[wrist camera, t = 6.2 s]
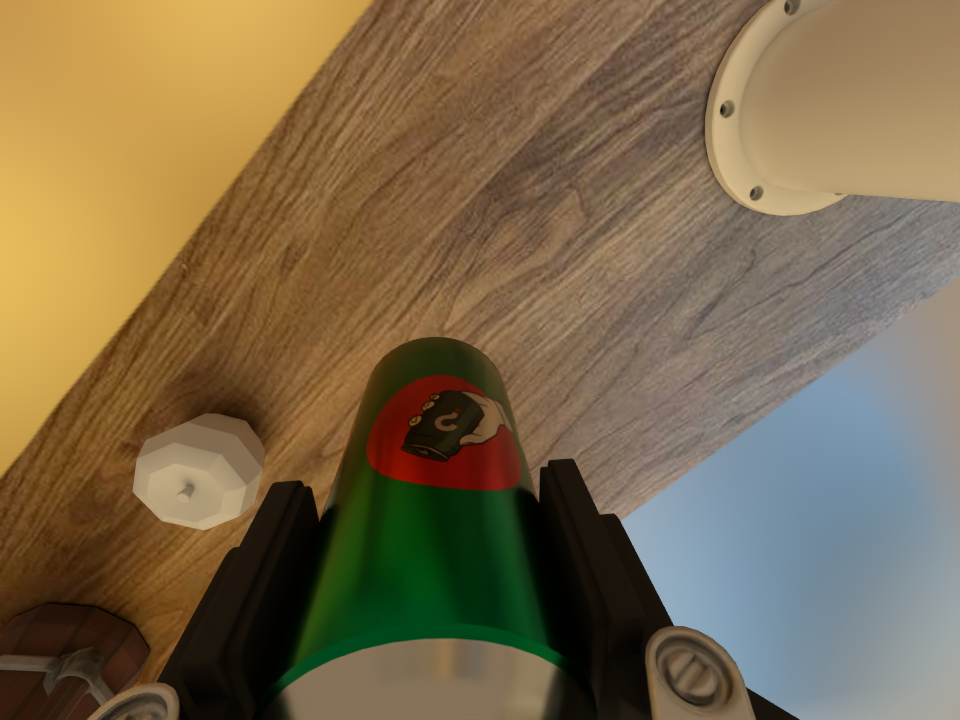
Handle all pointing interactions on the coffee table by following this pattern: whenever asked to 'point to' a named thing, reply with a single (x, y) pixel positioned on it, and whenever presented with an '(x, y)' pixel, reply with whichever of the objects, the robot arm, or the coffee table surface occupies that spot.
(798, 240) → the coffee table surface
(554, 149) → the coffee table surface
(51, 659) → the mug
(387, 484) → the soda can
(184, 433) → the white apple
